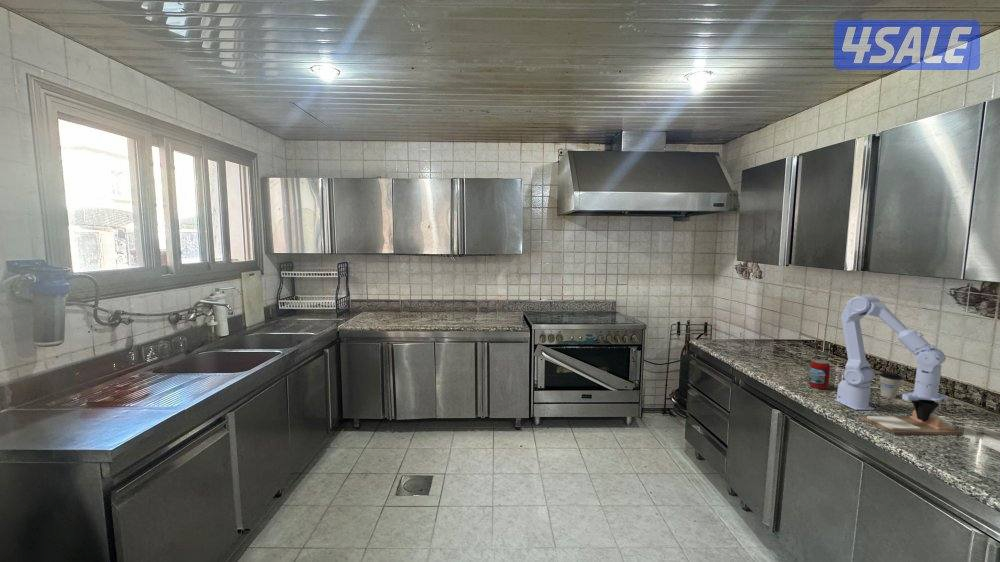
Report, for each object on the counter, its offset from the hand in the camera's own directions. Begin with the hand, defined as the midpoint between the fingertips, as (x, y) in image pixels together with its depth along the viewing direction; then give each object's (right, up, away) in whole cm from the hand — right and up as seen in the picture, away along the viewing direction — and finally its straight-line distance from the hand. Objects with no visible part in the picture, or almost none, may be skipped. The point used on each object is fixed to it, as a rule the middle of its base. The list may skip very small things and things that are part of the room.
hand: (921, 419), depth 138 cm
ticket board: (-5, -2, 0) cm, 5 cm away
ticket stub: (+4, -1, 0) cm, 4 cm away
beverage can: (-7, +1, +37) cm, 38 cm away
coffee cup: (+16, 0, +28) cm, 32 cm away
